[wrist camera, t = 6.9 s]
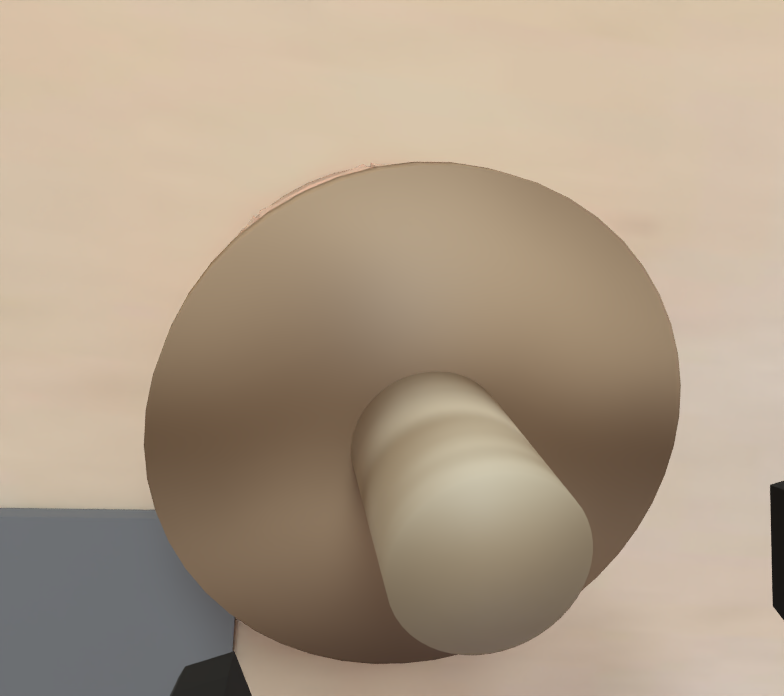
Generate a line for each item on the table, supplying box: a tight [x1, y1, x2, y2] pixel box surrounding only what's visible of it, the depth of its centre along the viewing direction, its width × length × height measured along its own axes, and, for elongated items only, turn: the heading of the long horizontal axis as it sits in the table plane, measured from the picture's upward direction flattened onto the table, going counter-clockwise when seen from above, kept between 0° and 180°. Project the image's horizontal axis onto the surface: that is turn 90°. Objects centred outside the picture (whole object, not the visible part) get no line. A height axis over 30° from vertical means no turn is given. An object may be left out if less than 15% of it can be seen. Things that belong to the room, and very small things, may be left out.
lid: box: [144, 162, 681, 664], centre depth 12 cm, size 11×11×5 cm
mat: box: [0, 508, 235, 696], centre depth 19 cm, size 11×11×1 cm
